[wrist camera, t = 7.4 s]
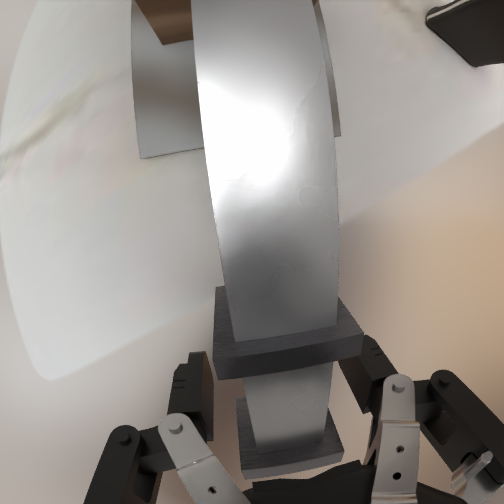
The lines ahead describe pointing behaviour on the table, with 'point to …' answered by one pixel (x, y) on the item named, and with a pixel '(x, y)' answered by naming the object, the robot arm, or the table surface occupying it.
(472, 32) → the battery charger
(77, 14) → the table surface
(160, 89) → the stand
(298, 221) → the shaft
